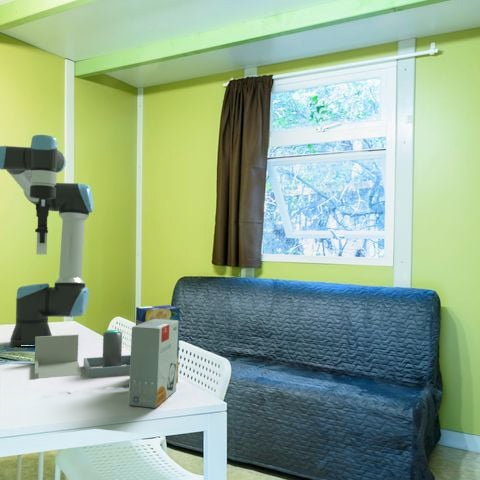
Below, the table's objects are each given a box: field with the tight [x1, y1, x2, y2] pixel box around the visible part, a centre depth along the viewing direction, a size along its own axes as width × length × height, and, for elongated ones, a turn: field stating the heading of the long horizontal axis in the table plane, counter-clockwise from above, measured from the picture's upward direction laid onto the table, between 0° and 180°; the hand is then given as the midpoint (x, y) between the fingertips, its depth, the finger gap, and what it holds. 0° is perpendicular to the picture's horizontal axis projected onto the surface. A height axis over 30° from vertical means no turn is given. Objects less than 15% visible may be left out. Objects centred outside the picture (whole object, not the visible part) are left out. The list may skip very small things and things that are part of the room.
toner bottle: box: [101, 329, 123, 367], centre depth 148 cm, size 6×6×13 cm
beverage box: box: [135, 304, 181, 383], centre depth 142 cm, size 7×11×22 cm, turn 127°
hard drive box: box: [127, 319, 178, 409], centre depth 127 cm, size 16×8×20 cm, turn 168°
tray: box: [83, 354, 131, 379], centre depth 148 cm, size 14×16×4 cm
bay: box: [34, 334, 83, 380], centre depth 148 cm, size 18×13×10 cm
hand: (41, 253), depth 149 cm, fingers open, 13 cm apart
